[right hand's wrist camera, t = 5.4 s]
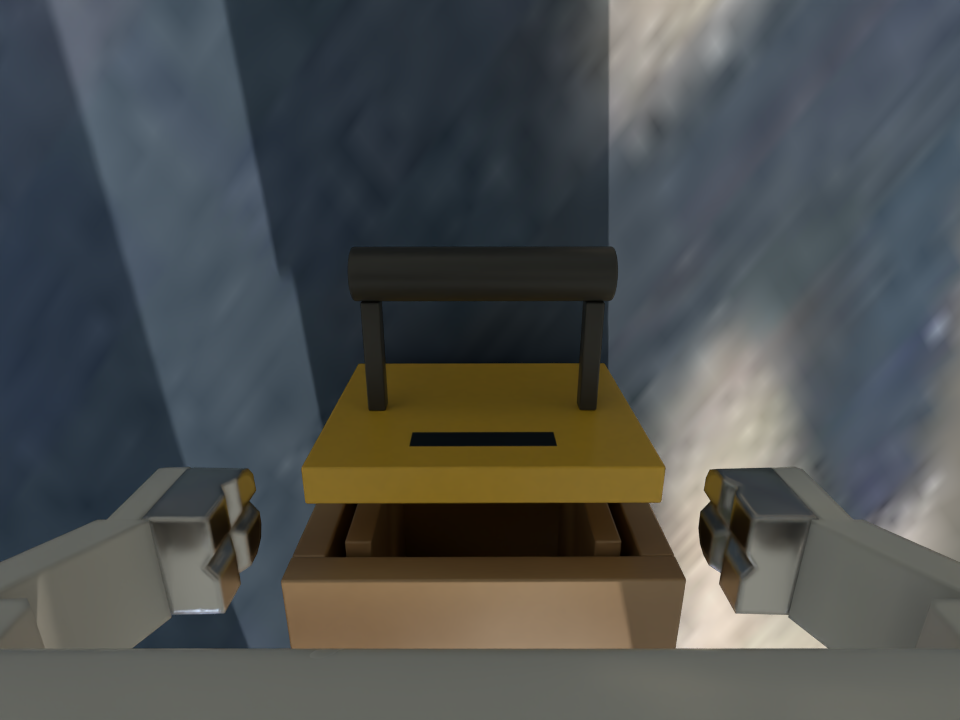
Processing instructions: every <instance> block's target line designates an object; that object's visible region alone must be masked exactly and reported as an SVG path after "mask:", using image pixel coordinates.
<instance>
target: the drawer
mask: <svg viewBox="0 0 960 720" xmlns="http://www.w3.org/2000/svg"><path fill="white" fill-rule="evenodd" d="M617 279H618V262H617V255H616V252H615V249H614V248H613V247H353V248H351V250H350V253H349V258H348V283H349V290H350V294H351V297H352V299H353V300H354V301H362V302H361V304H360V306H361V319H362V332H363V346H364V359H365V364H358V366H357V368H356V370H355V371H354V373H353V375H352V377H351V379H350V380H349V382H348V384H347V386H346V388H345V390H344V391H343V393H342V395H341V397H340V399H339V400H338V402H337V404H336V406H335V408H334V410H333V411H332V413H331V415H330V417H329V419H328V420H327V422H326V424H325V426H324V428H323V430H322V431H321V433H320V435H319V437H318V439H317V440H316V442H315V444H314V446H313V448H312V450H311V451H310V453H309V455H308V457H307V459H306V461H305V462H304V464H303V466H302V468H301V470H302V478H303V486H304V494H305V502H306V503H308V504H316V503H358V505H357V508H356V511H355V514H354V517H353V520H352V523H351V526H350V529H349V532H348V535H347V538H346V541H345V547H346V557H582V556H620V549H621V539H620V537H619V534H618V531H617V529H616V526H615V523H614V520H613V518H612V515H611V512H610V509H609V507H608V504H607V503H659V502H661V499H662V491H663V483H664V476H665V466H664V464H663V462H662V460H661V459H660V457H659V455H658V454H657V452H656V450H655V449H654V447H653V445H652V443H651V442H650V440H649V438H648V437H647V435H646V433H645V432H644V430H643V428H642V426H641V425H640V423H639V421H638V420H637V418H636V416H635V415H634V413H633V411H632V409H631V408H630V406H629V404H628V403H627V401H626V399H625V398H624V396H623V394H622V392H621V391H620V389H619V387H618V386H617V384H616V382H615V381H614V379H613V377H612V375H611V374H610V372H609V370H608V369H607V367H606V365H605V364H604V363H600V359H601V346H602V333H603V320H604V307H605V303H604V302H603V301H610V300H612V299H613V297H614V295H615V291H616V287H617ZM382 301H583V312H582V328H581V343H580V359H579V363H496V364H386V361H385V344H384V328H383V312H382Z"/></svg>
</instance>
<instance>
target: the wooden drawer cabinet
mask: <svg viewBox="0 0 960 720" xmlns="http://www.w3.org/2000/svg"><path fill="white" fill-rule="evenodd" d="M607 504H608V507H609V509H610V512H611V515H612V518H613V520H614V523H615V526H616V529H617V531H618V534H619V537H620V539H621V549H620V556H582V557H346V547H345V541H346V538H347V535H348V532H349V529H350V526H351V523H352V520H353V517H354V514H355V511H356V508H357V505H358V503H316V505H315V508H314V510H313V512H312V514H311V517H310V519H309V521H308V523H307V525H306V528H305V530H304V532H303V534H302V536H301V539H300V541H299V543H298V545H297V547H296V550H295V552H294V554H293V558H291V560H290V562H289V565H288V567H287V569H286V571H285V573H284V576H283V578H282V580H281V584H282V591H283V598H284V604H285V611H286V618H287V624H288V631H289V638H290V644H291V649H675V648H676V641H677V635H678V628H679V622H680V616H681V609H682V603H683V596H684V590H685V583H686V579H685V577H684V575H683V572H682V570H681V568H680V566H679V564H678V562H677V560H676V558H675V557H674V554H673V552H672V550H671V548H670V546H669V543H668V541H667V539H666V537H665V535H664V533H663V531H662V529H661V527H660V525H659V523H658V521H657V519H656V517H655V514H654V512H653V510H652V508H651V506H650V504H649V503H607Z"/></svg>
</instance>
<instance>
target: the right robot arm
mask: <svg viewBox="0 0 960 720" xmlns="http://www.w3.org/2000/svg"><path fill="white" fill-rule="evenodd" d="M255 491H256V487H255V482H254V477H253V474H252V472H251V471H250V470H249V469H247V468H196V467H194V468H191V467H166V468H160V469H158V470H157V471H156V472H155V473H154V474H153V475H152V476H151V477H150V478H149V479H148V480H146V481H145V482H144V483H143V484H142V485H141V486H140V487H139V488H138V489H137V490H136V491H135V492H134V493H133V494H132V495H131V496H130V497H129V498H128V499H127V500H126V501H125V502H124V503H123V504H122V505H121V506H120V507H119V508H118V509H117V510H116V511H115V512H114V513H113V514H112V515H111V516H110V517H109V518H108V519H107V520H96V521H93V522H91V523H89V524H86V525H84V526H82V527H80V528H77V529H75V530H73V531H70V532H68V533H66V534H64V535H61V536H59V537H57V538H54V539H52V540H50V541H48V542H45V543H43V544H41V545H38V546H36V547H34V548H32V549H29V550H27V551H25V552H22V553H20V554H18V555H16V556H13V557H11V558H9V559H6V560H4V561H2V562H0V720H960V562H958V561H956V560H953V559H951V558H949V557H946V556H944V555H942V554H940V553H937V552H935V551H933V550H931V549H928V548H926V547H924V546H921V545H919V544H917V543H915V542H912V541H910V540H908V539H905V538H903V537H901V536H899V535H896V534H894V533H892V532H890V531H887V530H885V529H883V528H880V527H878V526H876V525H874V524H871V523H869V522H867V521H864V520H853V519H852V518H851V517H850V516H849V515H848V514H847V513H846V512H845V511H844V510H843V509H842V508H841V507H840V506H839V505H838V504H837V503H836V502H835V501H834V500H833V499H832V498H831V497H830V496H829V495H828V494H827V493H826V492H825V491H824V490H823V489H822V488H821V487H820V486H819V485H818V484H817V483H816V482H815V481H814V480H813V479H812V478H811V477H810V476H809V475H808V474H807V473H806V472H805V471H804V470H803V469H800V468H797V467H777V468H739V469H712V470H709V472H708V475H707V477H706V481H705V487H704V491H705V493H706V494H707V496H708V497H709V499H710V502H709V503H708V504H707V505H706V507H705V508H704V509H703V510H702V511H701V512H700V520H699V538H700V545H701V548H702V552H703V555H704V557H705V559H706V561H707V563H708V564H709V566H711V567H712V568H714V569H715V570H717V571H718V572H720V573H721V576H720V582H719V585H720V586H721V588H722V590H723V592H724V593H725V595H726V597H727V599H728V601H729V602H730V604H731V606H732V608H733V610H734V611H735V613H740V614H777V615H789V616H788V617H789V618H790V619H791V620H793V621H794V622H795V623H796V624H798V625H799V626H800V627H801V628H803V629H804V630H805V631H807V632H808V633H809V634H810V635H812V636H813V637H814V638H816V639H817V640H818V641H819V642H821V643H822V644H823V645H825V646H826V647H827V648H828V649H158V648H133V647H134V646H136V645H137V644H138V643H139V642H141V641H142V640H143V639H145V638H146V637H147V636H148V635H150V634H151V633H152V632H154V631H155V630H156V629H157V628H159V627H160V626H161V625H163V624H164V623H165V622H166V621H168V620H169V619H170V618H171V617H172V616H171V615H183V614H218V613H225V611H226V610H227V608H228V606H229V604H230V602H231V601H232V599H233V597H234V595H235V594H236V592H237V590H238V588H239V586H240V585H241V582H240V576H239V573H240V572H242V571H243V570H245V569H246V568H248V567H249V566H251V564H252V562H253V561H254V559H255V557H256V555H257V552H258V548H259V544H260V539H261V519H260V512H259V511H258V510H257V509H256V508H255V507H254V505H253V504H252V503H251V502H250V499H251V497H252V496H253V494H254V493H255Z"/></svg>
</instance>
